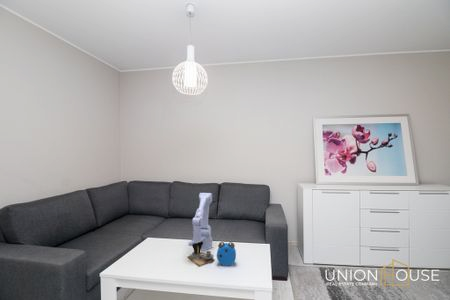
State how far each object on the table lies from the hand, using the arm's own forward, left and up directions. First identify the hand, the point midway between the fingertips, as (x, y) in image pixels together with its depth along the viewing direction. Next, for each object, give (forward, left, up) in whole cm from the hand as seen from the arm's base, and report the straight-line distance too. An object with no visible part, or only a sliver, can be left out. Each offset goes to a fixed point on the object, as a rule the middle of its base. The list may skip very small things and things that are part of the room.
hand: (197, 252), depth 162 cm
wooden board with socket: (-1, +3, -4) cm, 5 cm away
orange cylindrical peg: (0, 0, -2) cm, 2 cm away
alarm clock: (-12, +19, -5) cm, 23 cm away
